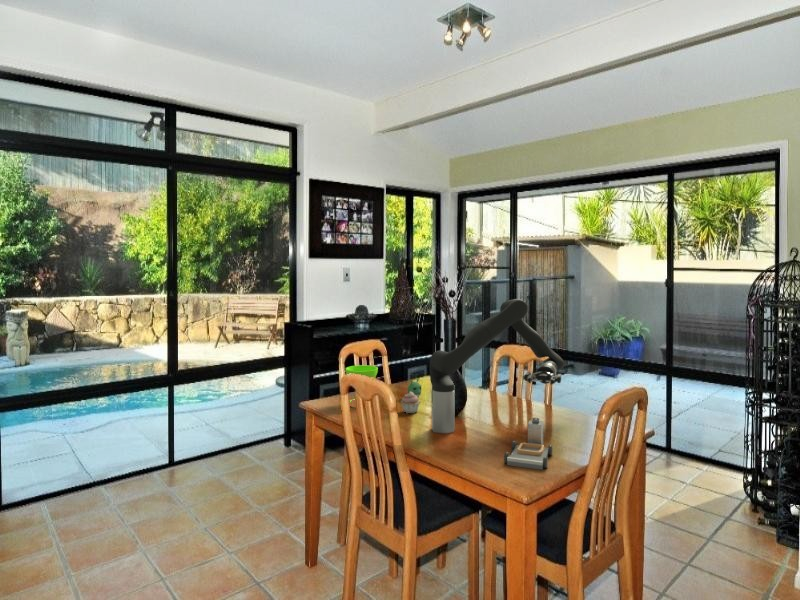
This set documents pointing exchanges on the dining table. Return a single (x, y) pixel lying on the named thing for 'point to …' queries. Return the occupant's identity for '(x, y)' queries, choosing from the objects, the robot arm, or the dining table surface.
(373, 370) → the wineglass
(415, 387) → the alien toy
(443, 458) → the dining table surface
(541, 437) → the block
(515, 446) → the chassis
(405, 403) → the cupcake
